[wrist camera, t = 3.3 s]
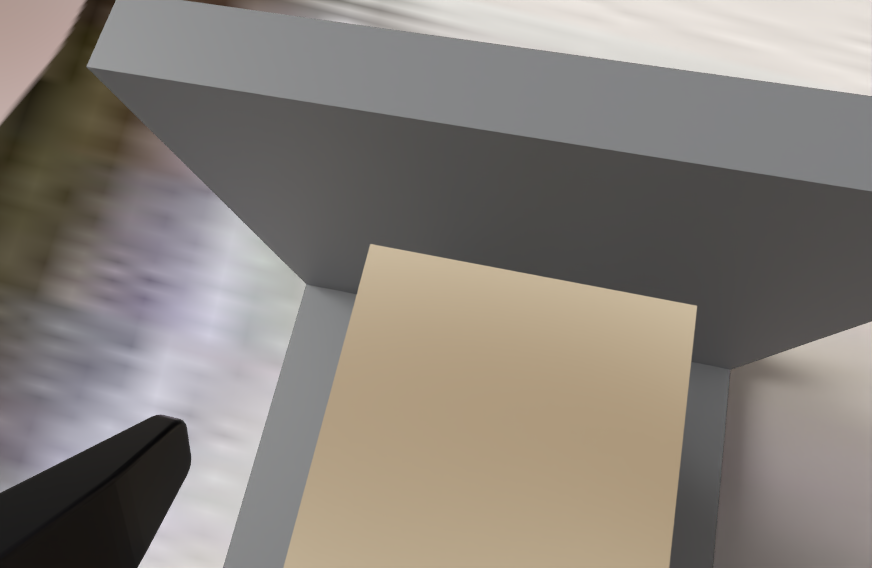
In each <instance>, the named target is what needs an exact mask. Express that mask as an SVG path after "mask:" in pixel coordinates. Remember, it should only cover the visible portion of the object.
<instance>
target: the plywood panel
mask: <svg viewBox="0 0 872 568" xmlns="http://www.w3.org/2000/svg"><path fill="white" fill-rule="evenodd" d="M696 312H697V306H696V305H690V304H685V303H680V302H674V301H669V300H664V299H659V298H653V297H648V296H643V295H638V294H632V293H627V292H622V291H616V290H611V289H606V288H601V287H595V286H590V285H585V284H579V283H574V282H569V281H564V280H558V279H553V278H548V277H542V276H537V275H532V274H527V273H521V272H516V271H511V270H505V269H500V268H495V267H490V266H484V265H479V264H474V263H468V262H463V261H458V260H453V259H447V258H442V257H437V256H431V255H426V254H421V253H416V252H410V251H405V250H400V249H394V248H389V247H384V246H379V245H373V244H370V247H369V251H368V254H367V258H366V262H365V265H364V269H363V273H362V277H361V280H360V284H359V288H358V292H357V295H356V299H355V303H354V306H353V310H352V314H351V318H350V321H349V325H348V329H347V332H346V336H345V340H344V344H343V347H342V351H341V355H340V359H339V362H338V366H337V370H336V373H335V377H334V381H333V385H332V388H331V392H330V396H329V399H328V403H327V407H326V411H325V414H324V418H323V422H322V426H321V429H320V433H319V437H318V440H317V444H316V448H315V452H314V455H313V459H312V463H311V466H310V470H309V474H308V478H307V481H306V485H305V489H304V493H303V496H302V500H301V504H300V507H299V511H298V515H297V519H296V522H295V526H294V530H293V533H292V537H291V541H290V545H289V548H288V552H287V556H286V560H285V563H284V567H283V568H669V564H670V555H671V546H672V536H673V527H674V518H675V508H676V499H677V490H678V480H679V471H680V461H681V452H682V443H683V433H684V424H685V415H686V405H687V396H688V387H689V377H690V368H691V359H692V349H693V340H694V330H695V321H696Z"/></svg>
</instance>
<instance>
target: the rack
mask: <svg viewBox="0 0 872 568" xmlns="http://www.w3.org/2000/svg"><path fill="white" fill-rule="evenodd" d="M87 68H88V69H89V70H90V71H91V72H92V73H93V74H94V75H95V76H96V77H97V78H98V79H99V80H100V81H101V82H102V83H103V84H104V85H105V86H106V87H107V88H108V89H109V90H111V91H112V92H113V93H114V94H115V95H116V96H117V97H118V98H119V99H120V100H121V101H122V102H123V103H124V104H125V105H126V106H127V107H128V108H129V109H130V110H131V111H132V112H133V113H134V114H135V115H136V116H137V117H138V118H139V119H140V120H141V121H142V122H143V123H144V124H145V125H146V126H147V127H148V128H149V129H150V130H151V131H152V132H153V133H154V134H155V135H156V136H157V137H158V138H159V139H160V140H161V141H162V142H163V143H164V144H165V145H166V146H167V147H168V148H169V149H170V150H171V151H172V152H173V153H174V154H175V155H176V156H177V157H178V158H179V159H180V160H181V161H182V162H183V163H184V164H185V165H186V166H187V167H188V168H189V169H190V170H191V171H192V172H193V173H194V174H195V175H196V176H198V177H199V178H200V179H201V180H202V181H203V182H204V183H205V184H206V185H207V186H208V187H209V188H210V189H211V190H212V191H213V192H214V193H215V194H216V195H217V196H218V197H219V198H220V199H221V200H222V201H223V202H224V203H225V204H226V205H227V206H228V207H229V208H230V209H231V210H232V211H233V212H234V213H235V214H236V215H237V216H238V217H239V218H240V219H241V220H242V221H243V222H244V223H245V224H246V225H247V226H248V227H249V228H250V229H251V230H252V231H253V232H254V233H255V234H256V235H257V236H258V237H259V238H260V239H261V240H262V241H263V242H264V243H265V244H266V245H267V246H268V247H269V248H270V249H271V250H272V251H273V252H274V253H275V254H276V255H277V256H278V257H279V258H280V259H281V260H282V261H283V262H285V263H286V264H287V265H288V266H289V267H290V268H291V269H292V270H293V271H294V272H295V273H296V274H297V275H298V276H299V277H300V278H301V279H302V280H303V281H304V282H305V283H306V287H305V291H304V294H303V297H302V301H301V304H300V308H299V311H298V314H297V318H296V321H295V325H294V328H293V331H292V335H291V338H290V342H289V345H288V348H287V352H286V355H285V359H284V362H283V365H282V369H281V372H280V376H279V379H278V382H277V386H276V389H275V393H274V396H273V399H272V403H271V406H270V410H269V413H268V416H267V420H266V423H265V427H264V430H263V433H262V437H261V440H260V444H259V447H258V450H257V454H256V457H255V461H254V464H253V467H252V471H251V474H250V478H249V481H248V484H247V488H246V491H245V495H244V498H243V501H242V505H241V508H240V512H239V515H238V518H237V522H236V525H235V529H234V532H233V535H232V539H231V542H230V546H229V549H228V553H227V556H226V559H225V563H224V566H223V568H283V567H284V563H285V560H286V556H287V552H288V548H289V545H290V541H291V537H292V533H293V530H294V526H295V522H296V519H297V515H298V511H299V507H300V504H301V500H302V496H303V493H304V489H305V485H306V481H307V478H308V474H309V470H310V466H311V463H312V459H313V455H314V452H315V448H316V444H317V440H318V437H319V433H320V429H321V426H322V422H323V418H324V414H325V411H326V407H327V403H328V399H329V396H330V392H331V388H332V385H333V381H334V377H335V373H336V370H337V366H338V362H339V359H340V355H341V351H342V347H343V344H344V340H345V336H346V332H347V329H348V325H349V321H350V318H351V314H352V310H353V306H354V303H355V299H356V295H357V292H358V288H359V284H360V280H361V277H362V273H363V269H364V265H365V262H366V258H367V254H368V251H369V247H370V244H373V245H379V246H384V247H389V248H394V249H400V250H405V251H410V252H416V253H421V254H426V255H431V256H437V257H442V258H447V259H453V260H458V261H463V262H468V263H474V264H479V265H484V266H490V267H495V268H500V269H505V270H511V271H516V272H521V273H527V274H532V275H537V276H542V277H548V278H553V279H558V280H564V281H569V282H574V283H579V284H585V285H590V286H595V287H601V288H606V289H611V290H616V291H622V292H627V293H632V294H638V295H643V296H648V297H653V298H659V299H664V300H669V301H674V302H680V303H685V304H690V305H696V306H697V312H696V321H695V330H694V340H693V349H692V359H691V368H690V377H689V387H688V396H687V405H686V415H685V424H684V433H683V443H682V452H681V461H680V471H679V480H678V490H677V499H676V508H675V518H674V527H673V536H672V546H671V555H670V564H669V568H713V560H714V549H715V537H716V526H717V515H718V503H719V492H720V481H721V470H722V458H723V447H724V436H725V424H726V413H727V402H728V390H729V379H730V370H731V369H733V368H736V367H739V366H742V365H745V364H748V363H751V362H754V361H757V360H760V359H763V358H766V357H769V356H771V355H774V354H777V353H780V352H783V351H786V350H789V349H792V348H795V347H798V346H801V345H804V344H807V343H809V342H812V341H815V340H818V339H821V338H824V337H827V336H830V335H833V334H836V333H839V332H842V331H845V330H848V329H850V328H853V327H856V326H859V325H862V324H865V323H868V322H871V321H872V96H866V95H859V94H852V93H844V92H837V91H830V90H823V89H816V88H808V87H801V86H794V85H787V84H780V83H773V82H765V81H758V80H751V79H744V78H737V77H729V76H722V75H715V74H708V73H701V72H693V71H686V70H679V69H672V68H665V67H657V66H650V65H643V64H636V63H629V62H621V61H614V60H607V59H600V58H593V57H586V56H578V55H571V54H564V53H557V52H550V51H542V50H535V49H528V48H521V47H514V46H506V45H499V44H492V43H485V42H478V41H470V40H463V39H456V38H449V37H442V36H434V35H427V34H420V33H413V32H406V31H399V30H391V29H384V28H377V27H370V26H363V25H355V24H348V23H341V22H334V21H327V20H319V19H312V18H305V17H298V16H291V15H283V14H276V13H269V12H262V11H255V10H248V9H240V8H233V7H226V6H219V5H212V4H204V3H197V2H190V1H183V0H116V2H115V4H114V6H113V8H112V11H111V13H110V15H109V17H108V20H107V22H106V24H105V26H104V29H103V31H102V33H101V35H100V38H99V40H98V42H97V44H96V47H95V49H94V51H93V53H92V56H91V58H90V60H89V62H88V65H87Z"/></svg>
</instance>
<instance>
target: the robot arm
mask: <svg viewBox="0 0 872 568" xmlns="http://www.w3.org/2000/svg"><path fill="white" fill-rule="evenodd" d="M190 465H191V453H190V446H189V439H188V432H187V427H186V424H185V423H184V421H183V420H181V419H178V418H174V417H169V416H165V415H156V416H153V417H150V418H148V419H146V420H144V421H142V422H140V423H138V424H136V425H135V426H133V427H131V428H129V429H127V430H125V431H123V432H121V433H119V434H117V435H115V436H113V437H111V438H109V439H107V440H105V441H103V442H101V443H99V444H97V445H95V446H93V447H91V448H89V449H87V450H85V451H83V452H81V453H79V454H77V455H75V456H73V457H71V458H69V459H67V460H65V461H63V462H61V463H59V464H57V465H55V466H53V467H51V468H49V469H47V470H45V471H43V472H41V473H39V474H37V475H35V476H33V477H31V478H29V479H27V480H25V481H23V482H21V483H19V484H17V485H15V486H13V487H11V488H9V489H7V490H5V491H3V492H1V493H0V568H137V567H138V566H139V564H140V562H141V560H142V559H143V557H144V555H145V553H146V551H147V550H148V548H149V546H150V544H151V542H152V540H153V538H154V536H155V534H156V533H157V531H158V529H159V527H160V525H161V523H162V521H163V519H164V517H165V516H166V514H167V512H168V510H169V508H170V506H171V504H172V502H173V500H174V499H175V497H176V495H177V493H178V491H179V489H180V487H181V485H182V484H183V482H184V480H185V478H186V476H187V474H188V471H189V469H190Z"/></svg>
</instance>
